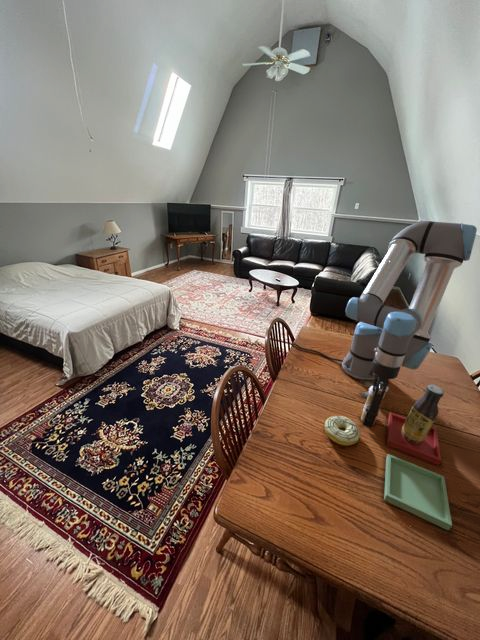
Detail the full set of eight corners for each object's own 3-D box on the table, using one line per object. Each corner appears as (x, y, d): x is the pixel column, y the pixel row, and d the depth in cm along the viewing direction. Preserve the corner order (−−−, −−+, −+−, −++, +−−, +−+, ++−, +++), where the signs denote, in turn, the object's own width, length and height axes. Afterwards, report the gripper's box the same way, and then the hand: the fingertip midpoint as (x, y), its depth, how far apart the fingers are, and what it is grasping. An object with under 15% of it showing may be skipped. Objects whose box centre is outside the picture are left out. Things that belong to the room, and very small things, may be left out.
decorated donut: (363, 434, 86) (366, 425, 84) (350, 455, 79) (353, 446, 77) (332, 416, 92) (335, 408, 91) (318, 434, 85) (320, 426, 83)
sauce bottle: (396, 432, 86) (416, 383, 78) (409, 427, 89) (429, 378, 80) (414, 449, 81) (438, 398, 73) (428, 442, 83) (452, 392, 75)
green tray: (383, 500, 67) (386, 495, 66) (386, 458, 78) (388, 453, 77) (448, 530, 62) (452, 525, 61) (441, 481, 73) (444, 476, 72)
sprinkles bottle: (358, 420, 91) (368, 389, 85) (362, 413, 94) (372, 382, 89) (372, 428, 89) (383, 396, 83) (376, 420, 92) (387, 389, 86)
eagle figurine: (369, 381, 110) (354, 383, 105) (383, 374, 104) (368, 375, 100) (378, 399, 106) (363, 402, 101) (393, 393, 101) (378, 395, 96)
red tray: (386, 445, 83) (388, 440, 82) (388, 416, 94) (389, 412, 93) (439, 465, 77) (441, 460, 76) (434, 432, 88) (436, 428, 87)
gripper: (376, 344, 91) (360, 397, 101) (371, 375, 75) (352, 434, 85) (400, 350, 88) (382, 404, 97) (401, 384, 72) (378, 444, 81)
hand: (368, 418), depth 91 cm, fingers open, 7 cm apart
